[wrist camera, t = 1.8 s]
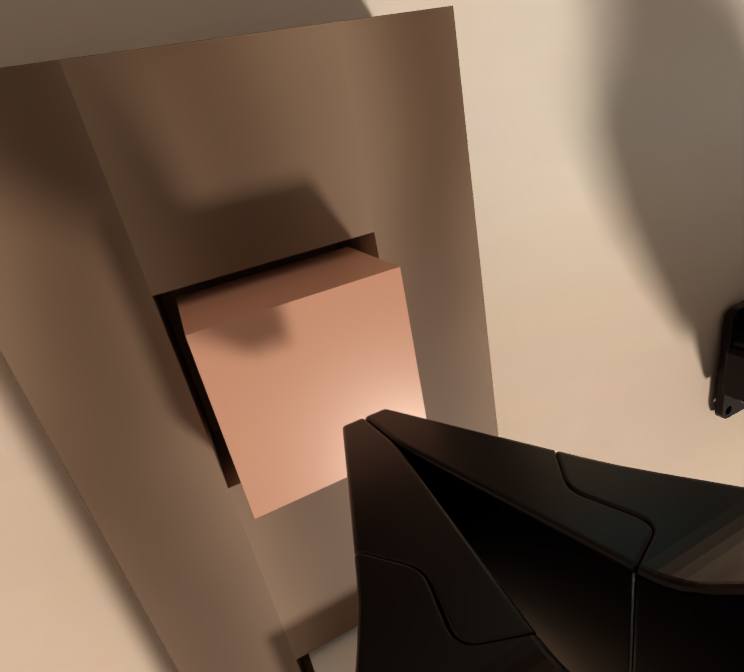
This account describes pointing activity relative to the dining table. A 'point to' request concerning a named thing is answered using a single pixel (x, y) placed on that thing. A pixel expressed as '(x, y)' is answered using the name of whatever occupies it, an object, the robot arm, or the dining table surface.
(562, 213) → the dining table surface
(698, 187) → the dining table surface
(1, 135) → the key panel
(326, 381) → the terracotta key
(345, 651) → the white square block
